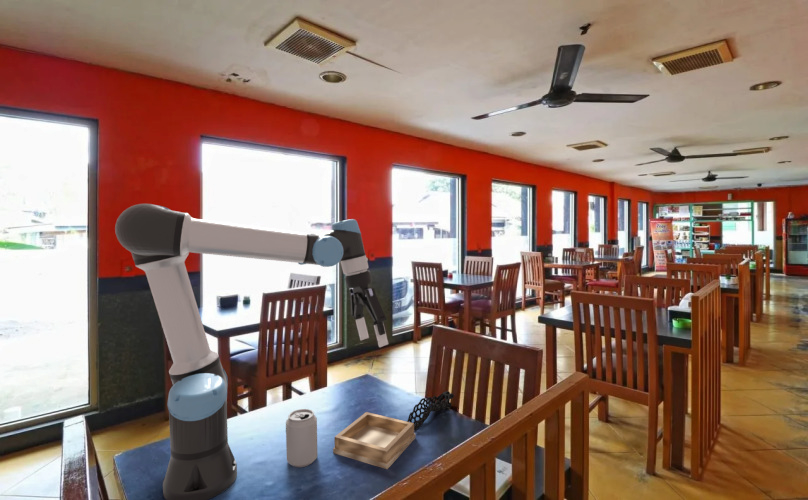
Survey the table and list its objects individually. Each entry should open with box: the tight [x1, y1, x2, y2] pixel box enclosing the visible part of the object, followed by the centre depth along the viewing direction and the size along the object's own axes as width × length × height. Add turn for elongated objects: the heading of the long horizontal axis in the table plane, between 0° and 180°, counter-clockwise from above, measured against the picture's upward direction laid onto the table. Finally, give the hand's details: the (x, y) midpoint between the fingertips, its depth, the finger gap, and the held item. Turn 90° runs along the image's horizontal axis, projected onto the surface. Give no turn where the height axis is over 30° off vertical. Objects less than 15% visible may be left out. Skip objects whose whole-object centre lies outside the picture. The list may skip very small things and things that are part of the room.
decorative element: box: [406, 390, 454, 432], centre depth 124 cm, size 22×5×6 cm, turn 144°
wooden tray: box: [332, 411, 416, 470], centre depth 107 cm, size 16×16×4 cm
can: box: [285, 408, 318, 468], centre depth 100 cm, size 8×8×12 cm
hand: (373, 342), depth 119 cm, fingers open, 13 cm apart
